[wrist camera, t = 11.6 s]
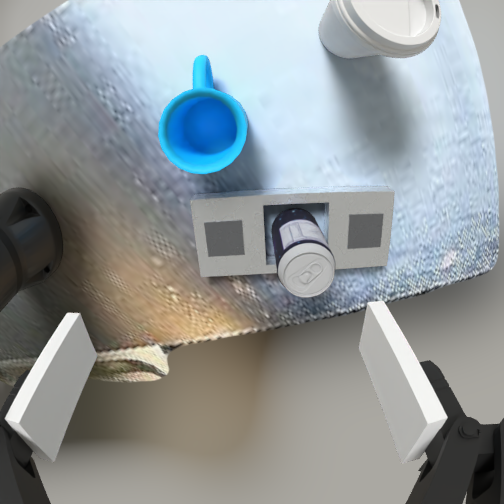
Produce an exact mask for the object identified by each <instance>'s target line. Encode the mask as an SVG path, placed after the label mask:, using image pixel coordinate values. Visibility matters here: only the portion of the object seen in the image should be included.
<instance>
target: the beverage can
mask: <svg viewBox="0 0 504 504" xmlns="http://www.w3.org/2000/svg"><path fill="white" fill-rule="evenodd" d="M272 238H273V246H274V253H275V260H276V268H277V274H278V278H279V280H280V282H281V283H282V285H283V286H284V287H285V288H286V289H287V290H288V291H289V292H290V293H292V294H294V295H296V296H298V297H305V298H307V297H314V296H317V295H319V294H321V293H323V292H324V291H325V290H326V289H327V288H328V287H329V286H330V285H331V283H332V281H333V278H334V272H335V266H336V265H335V259H334V256H333V254H332V252H331V250H330V248H329V246H328V244H327V242H326V240H325V238H324V236H323V234H322V232H321V230H320V228H319V226H318V224H317V222H316V220H315V218H314V217H313V216H312V215H311V214H310V213H309V212H308V211H306V210H303V209H299V208H292V209H288V210H285V211H283V212H282V213H280V214H279V215H278V216H277V217H276V219H275V220H274V222H273V225H272Z"/></svg>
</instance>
